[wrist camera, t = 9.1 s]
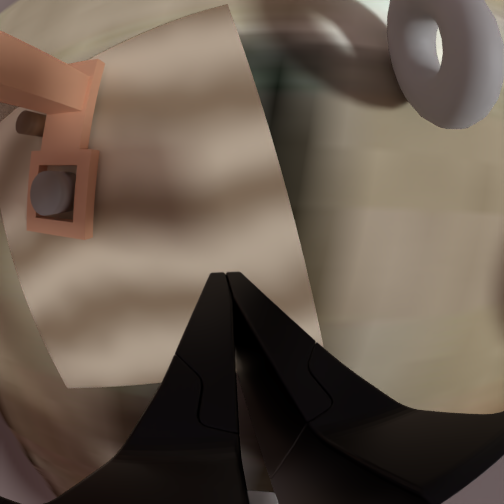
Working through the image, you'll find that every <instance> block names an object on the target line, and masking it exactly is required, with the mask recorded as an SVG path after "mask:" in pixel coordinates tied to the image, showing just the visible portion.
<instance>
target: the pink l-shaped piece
mask: <svg viewBox="0 0 504 504" xmlns="http://www.w3.org/2000/svg"><path fill="white" fill-rule="evenodd" d="M104 66H105V63H104V62H102V61H101V60H99V59H93V60H87V61H81V62H76V63H71V64H66V63H64V62H62V61H60V60H59V59H57V58H55V57H53V56H51V55H49V54H47V53H45V52H43V51H41V50H39V49H37V48H35V47H33V46H31V45H29V44H27V43H25V42H23V41H21V40H19V39H17V38H15V37H13V36H11V35H9V34H7V33H4V32H2V31H0V102H2V103H6V104H10V105H14V106H18V107H22V108H26V109H30V110H34V111H38V112H41V113H45V114H47V115H46V120H45V126H44V132H43V138H42V145H41V151H31V159H30V169H29V180H28V194H27V231H32V232H38V233H44V234H50V235H56V236H62V237H68V238H75V239H81V240H86V239H90V238H93V217H94V201H95V189H96V178H97V169H98V161H99V153H100V151H99V150H93V149H88V144H89V138H90V131H91V125H92V120H93V114H94V109H95V104H96V99H97V95H98V90H99V86H100V82H101V78H102V74H103V70H104ZM48 166H77V172H76V182H75V195H74V211H73V220H71V219H63V218H55V217H47V216H43V215H40V214H38V213H37V212H36V211H35V210H34V208H33V206H32V204H31V199H30V190H31V185H32V182H33V180H34V178H35V177H36V176H37V175H38V174H39V173H40V172H42V171H47V167H48Z"/></svg>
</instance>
